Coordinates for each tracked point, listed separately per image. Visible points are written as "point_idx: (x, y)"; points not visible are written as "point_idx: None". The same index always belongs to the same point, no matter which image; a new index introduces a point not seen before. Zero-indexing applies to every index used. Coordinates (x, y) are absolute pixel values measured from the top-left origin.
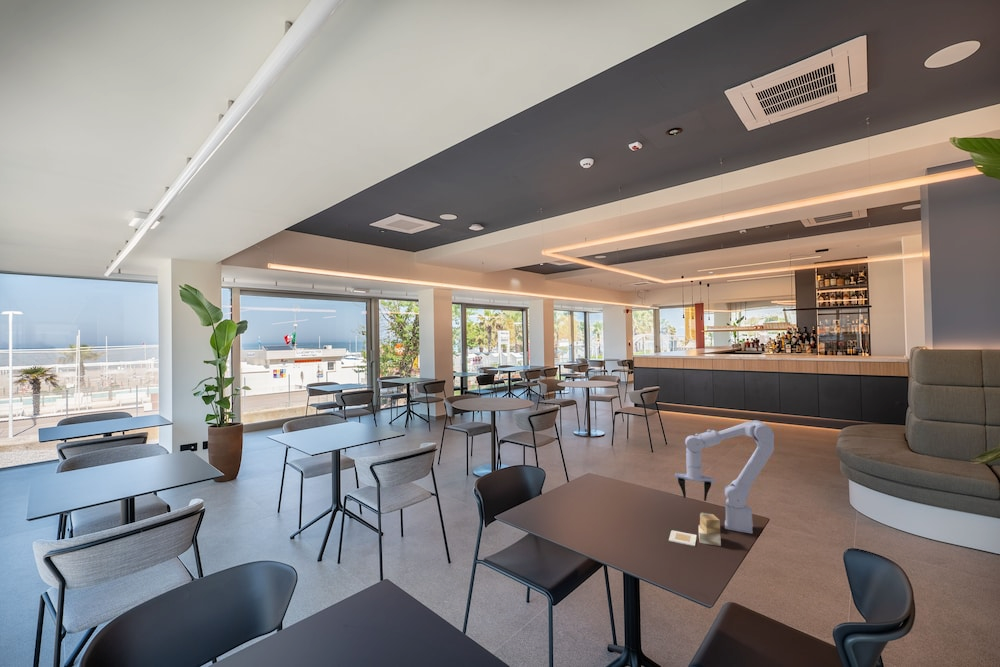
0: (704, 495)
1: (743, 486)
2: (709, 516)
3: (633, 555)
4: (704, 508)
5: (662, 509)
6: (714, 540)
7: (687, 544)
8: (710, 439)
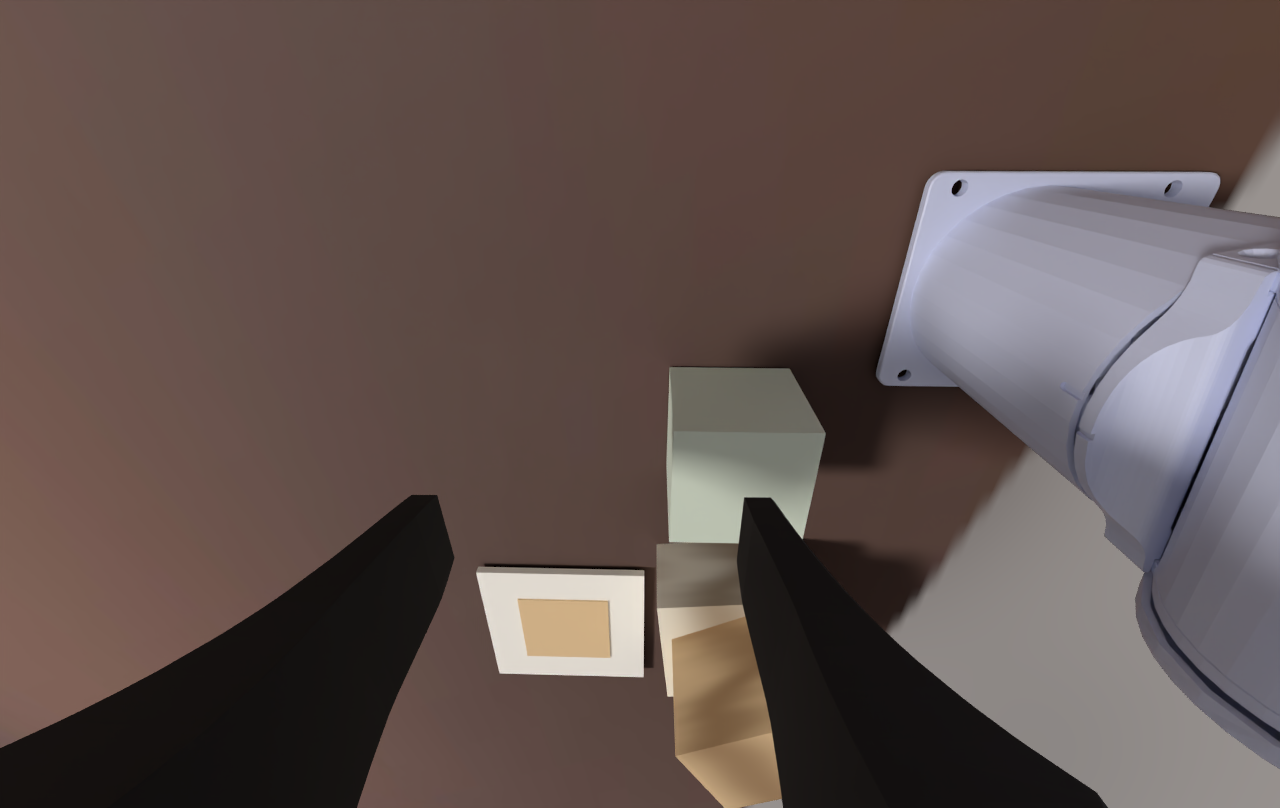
0: (759, 659)
1: None
2: (759, 761)
3: (409, 782)
4: None
5: (202, 116)
6: None
7: (603, 672)
8: None
